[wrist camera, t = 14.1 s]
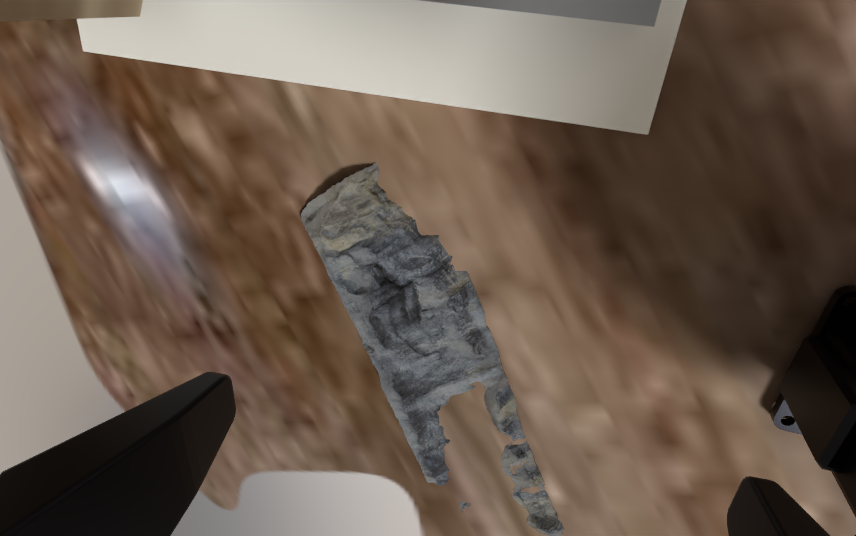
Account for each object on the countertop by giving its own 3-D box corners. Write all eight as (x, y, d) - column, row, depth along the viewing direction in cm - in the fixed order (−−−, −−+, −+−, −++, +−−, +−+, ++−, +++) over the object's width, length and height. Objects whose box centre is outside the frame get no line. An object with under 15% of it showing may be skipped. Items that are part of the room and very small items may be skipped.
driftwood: (296, 182, 24) (272, 198, 22) (436, 138, 21) (422, 152, 19) (446, 513, 31) (438, 546, 29) (563, 509, 28) (562, 544, 27)
